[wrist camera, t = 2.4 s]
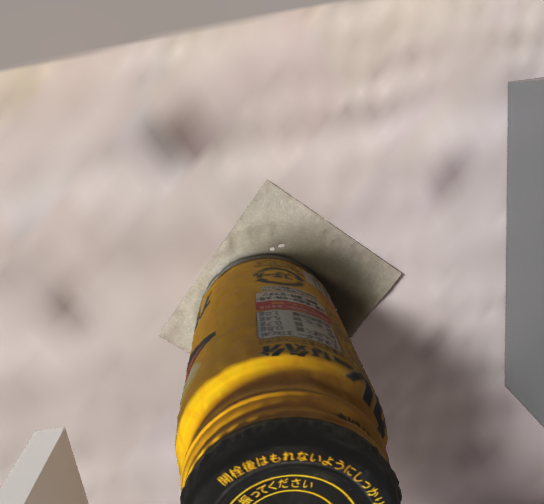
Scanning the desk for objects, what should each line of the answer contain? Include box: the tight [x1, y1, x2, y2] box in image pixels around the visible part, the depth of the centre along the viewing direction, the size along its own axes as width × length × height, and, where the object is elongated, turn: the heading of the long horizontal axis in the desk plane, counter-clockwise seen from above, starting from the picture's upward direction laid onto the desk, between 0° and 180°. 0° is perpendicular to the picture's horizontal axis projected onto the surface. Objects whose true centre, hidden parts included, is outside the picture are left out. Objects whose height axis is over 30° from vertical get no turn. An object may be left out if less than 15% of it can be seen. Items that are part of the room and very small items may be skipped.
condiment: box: [159, 180, 402, 504], centre depth 17 cm, size 7×8×12 cm
